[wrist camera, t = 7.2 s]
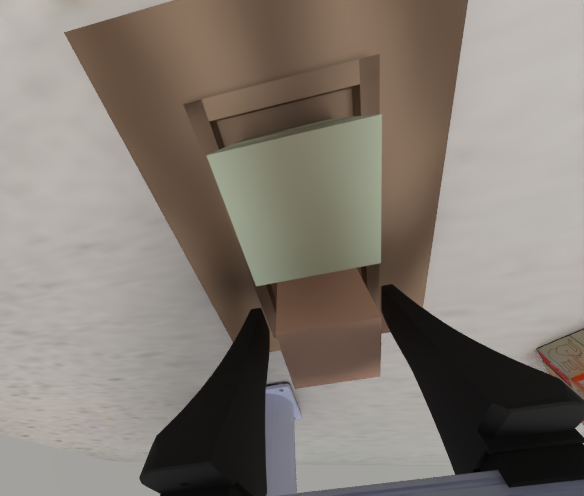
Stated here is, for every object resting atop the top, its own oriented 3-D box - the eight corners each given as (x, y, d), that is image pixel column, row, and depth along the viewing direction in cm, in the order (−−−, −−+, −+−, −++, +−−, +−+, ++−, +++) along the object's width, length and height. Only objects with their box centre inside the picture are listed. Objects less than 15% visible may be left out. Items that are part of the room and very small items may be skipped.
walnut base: (242, 346, 20) (226, 440, 14) (84, 40, 9) (-270, -105, 3) (413, 318, 19) (473, 406, 13) (460, -68, 8) (933, -571, 2)
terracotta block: (291, 305, 17) (295, 388, 11) (278, 258, 14) (275, 334, 9) (349, 295, 16) (380, 376, 11) (345, 245, 14) (381, 317, 9)
